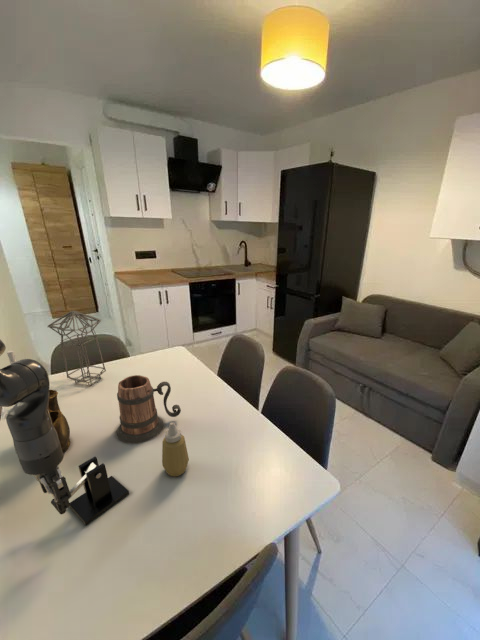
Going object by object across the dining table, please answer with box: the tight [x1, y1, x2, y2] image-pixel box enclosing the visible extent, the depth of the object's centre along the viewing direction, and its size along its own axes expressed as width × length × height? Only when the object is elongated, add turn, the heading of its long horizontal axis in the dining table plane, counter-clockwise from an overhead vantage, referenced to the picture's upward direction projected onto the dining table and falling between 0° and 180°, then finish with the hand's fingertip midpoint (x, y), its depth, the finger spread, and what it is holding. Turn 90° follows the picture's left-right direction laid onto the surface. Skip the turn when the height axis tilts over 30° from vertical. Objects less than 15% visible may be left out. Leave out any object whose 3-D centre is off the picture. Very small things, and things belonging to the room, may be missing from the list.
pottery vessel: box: [48, 389, 71, 454], centre depth 94 cm, size 25×11×20 cm, turn 37°
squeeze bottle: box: [161, 421, 190, 477], centre depth 88 cm, size 8×8×18 cm
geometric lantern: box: [47, 310, 107, 387], centre depth 132 cm, size 16×16×35 cm
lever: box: [50, 462, 97, 515], centre depth 74 cm, size 12×5×2 cm, turn 144°
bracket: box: [69, 456, 130, 526], centre depth 78 cm, size 12×9×13 cm
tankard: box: [115, 374, 182, 444], centre depth 107 cm, size 24×17×20 cm
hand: (56, 499), depth 70 cm, fingers open, 8 cm apart
